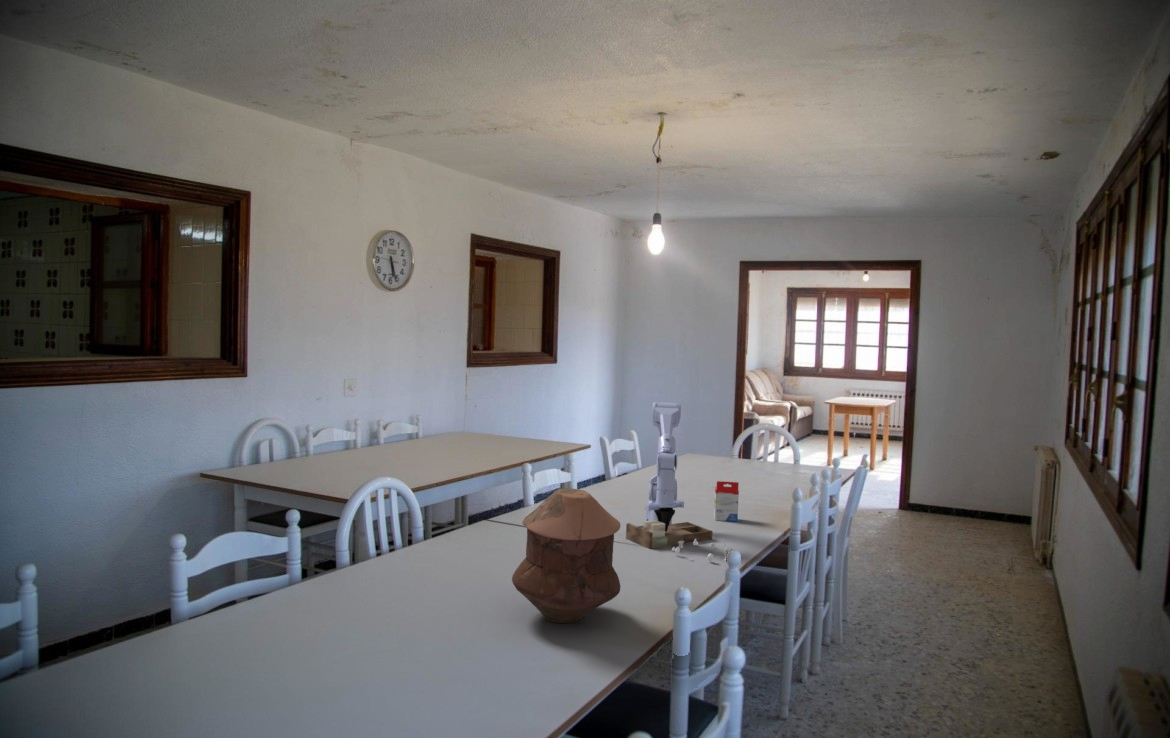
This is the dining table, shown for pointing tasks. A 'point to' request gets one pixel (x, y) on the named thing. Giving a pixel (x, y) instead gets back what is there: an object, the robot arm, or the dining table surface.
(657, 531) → the birch block
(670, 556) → the dining table surface
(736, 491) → the ink box
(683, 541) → the game piece set
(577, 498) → the pottery vessel
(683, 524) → the trap board
